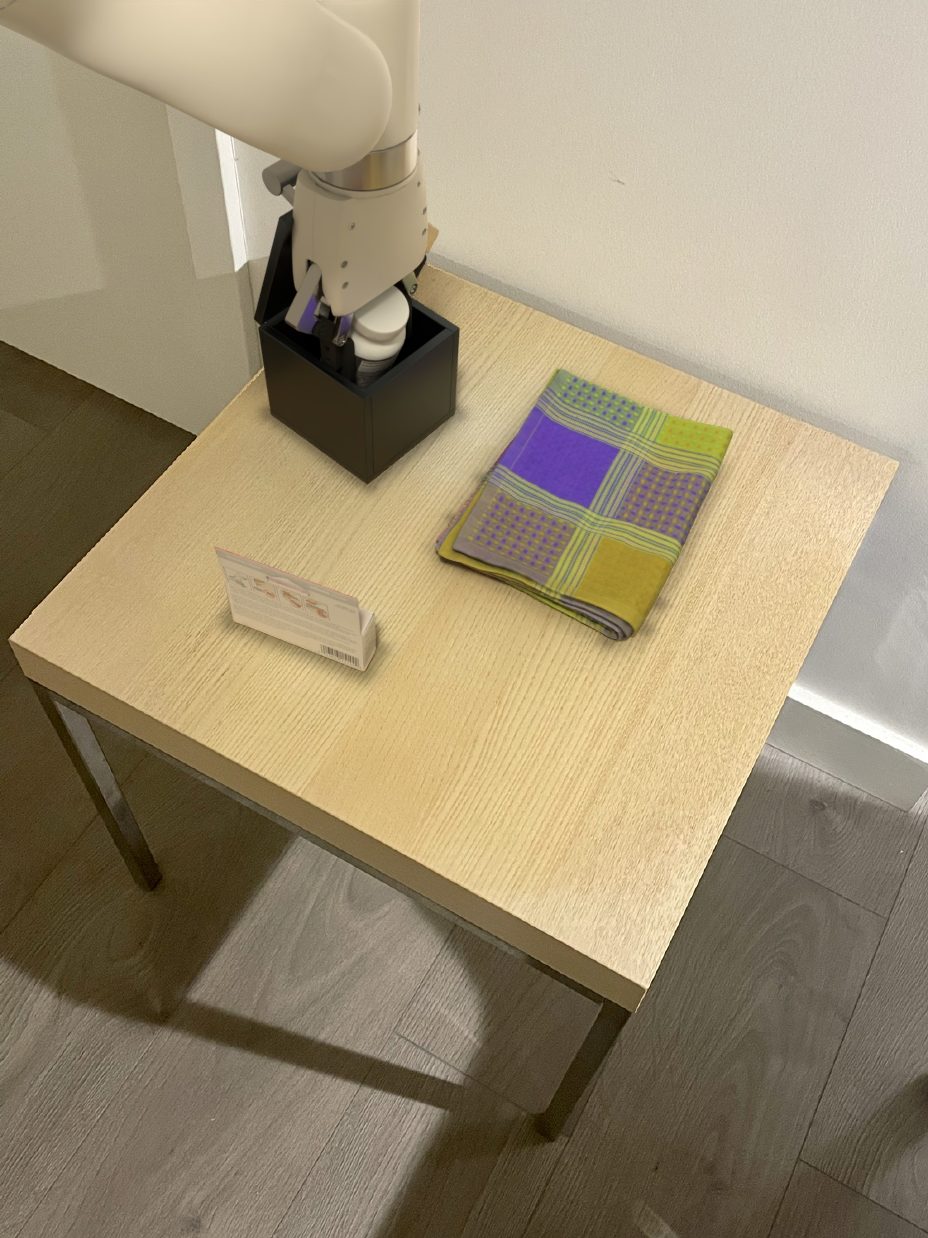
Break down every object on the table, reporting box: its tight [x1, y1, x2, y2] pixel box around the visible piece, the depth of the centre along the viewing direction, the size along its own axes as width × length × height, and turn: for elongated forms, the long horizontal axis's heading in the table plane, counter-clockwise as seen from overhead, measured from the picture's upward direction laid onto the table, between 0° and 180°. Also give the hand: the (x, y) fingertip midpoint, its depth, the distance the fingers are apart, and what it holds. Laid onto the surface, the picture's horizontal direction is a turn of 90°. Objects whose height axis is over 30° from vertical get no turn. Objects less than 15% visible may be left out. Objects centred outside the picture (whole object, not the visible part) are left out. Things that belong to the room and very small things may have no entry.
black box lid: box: [253, 158, 303, 326], centre depth 81 cm, size 12×11×5 cm
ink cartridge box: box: [213, 546, 377, 673], centre depth 77 cm, size 2×11×10 cm, turn 67°
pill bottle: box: [320, 285, 409, 391], centre depth 86 cm, size 6×6×10 cm
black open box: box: [257, 296, 461, 485], centre depth 89 cm, size 12×11×10 cm
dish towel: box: [434, 367, 734, 641], centre depth 88 cm, size 18×24×3 cm
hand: (367, 348), depth 86 cm, fingers closed on pill bottle, 5 cm apart
